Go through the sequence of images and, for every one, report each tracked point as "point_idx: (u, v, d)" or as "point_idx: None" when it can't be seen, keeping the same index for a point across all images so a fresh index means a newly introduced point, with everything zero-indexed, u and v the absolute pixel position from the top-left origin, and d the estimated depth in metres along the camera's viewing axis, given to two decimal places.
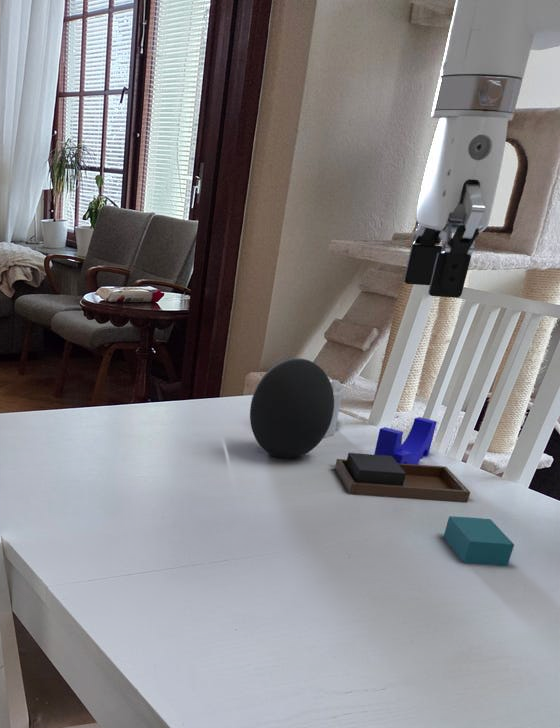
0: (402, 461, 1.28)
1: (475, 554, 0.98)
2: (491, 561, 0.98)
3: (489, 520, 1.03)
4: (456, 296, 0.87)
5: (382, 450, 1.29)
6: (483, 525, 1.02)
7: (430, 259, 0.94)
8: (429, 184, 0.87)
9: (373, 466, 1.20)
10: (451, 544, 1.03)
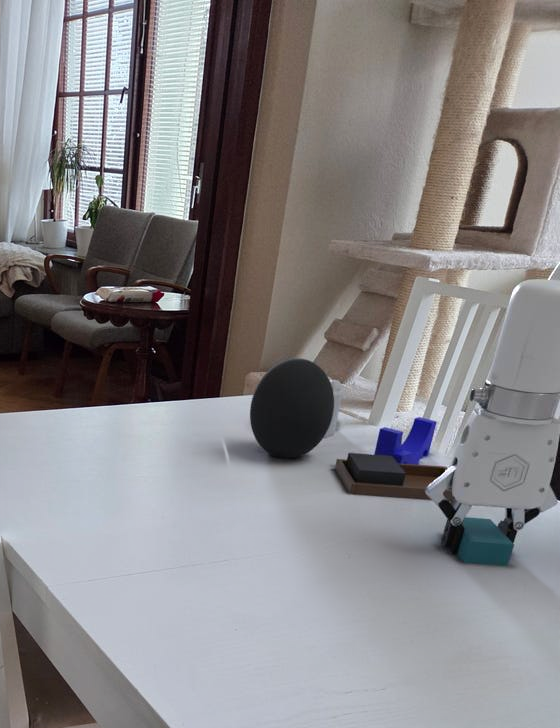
0: (402, 461, 1.28)
1: (475, 554, 0.98)
2: (491, 561, 0.98)
3: (489, 520, 1.03)
4: None
5: (382, 450, 1.29)
6: (483, 525, 1.02)
7: None
8: None
9: (373, 466, 1.20)
10: None
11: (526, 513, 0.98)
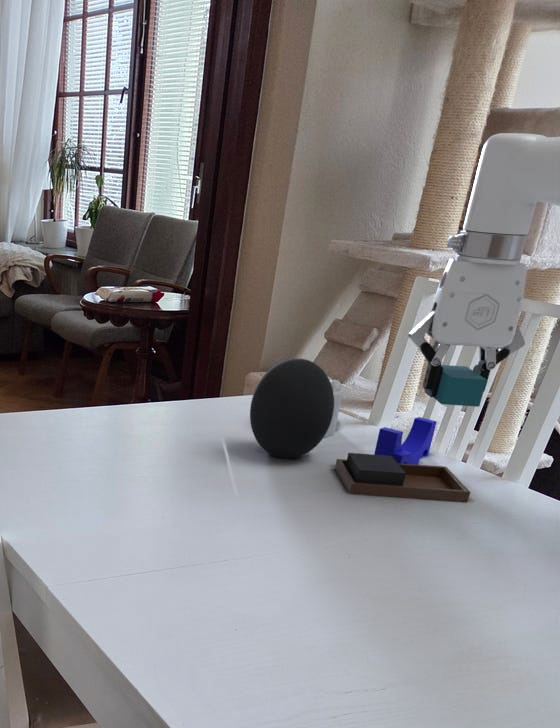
0: (402, 461, 1.28)
1: (452, 389, 1.11)
2: (466, 396, 1.11)
3: (466, 367, 1.16)
4: (430, 395, 1.14)
5: (382, 450, 1.29)
6: (460, 369, 1.15)
7: None
8: None
9: (373, 466, 1.20)
10: None
11: (497, 354, 1.11)
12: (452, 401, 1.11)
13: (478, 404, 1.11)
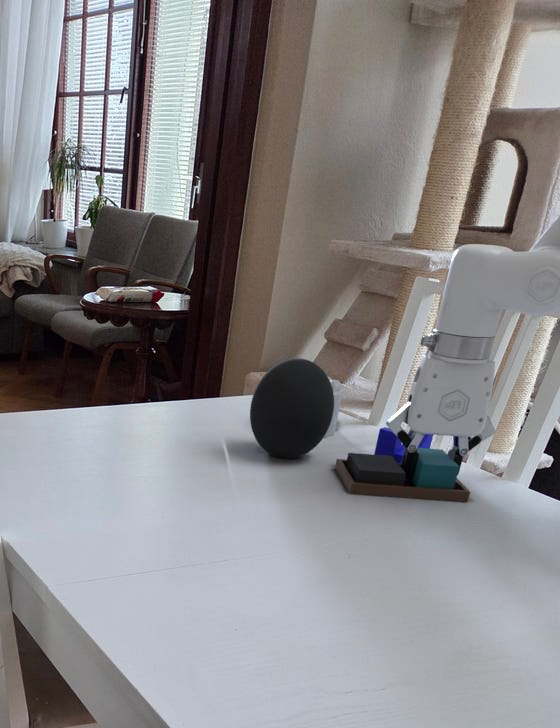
0: None
1: (427, 475, 1.18)
2: (440, 481, 1.18)
3: (441, 450, 1.24)
4: (407, 478, 1.21)
5: (382, 450, 1.29)
6: (435, 453, 1.22)
7: None
8: None
9: (373, 466, 1.20)
10: None
11: (470, 441, 1.19)
12: (427, 485, 1.19)
13: (452, 488, 1.19)
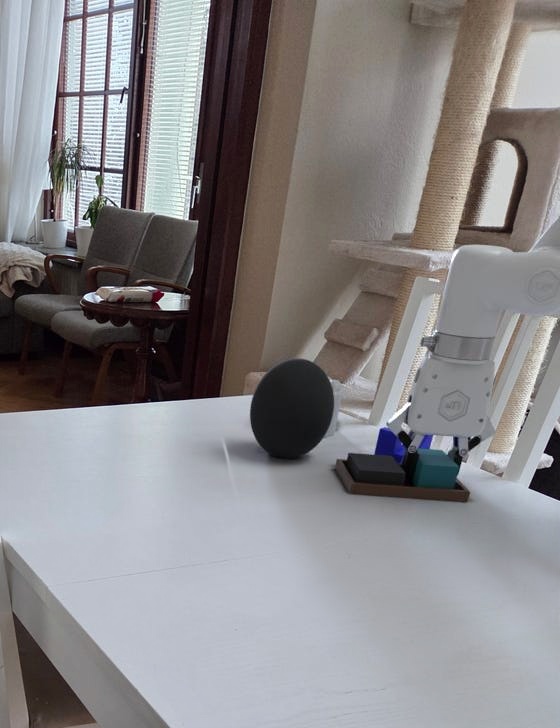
0: None
1: (427, 476, 1.18)
2: (440, 481, 1.18)
3: (441, 451, 1.24)
4: (407, 479, 1.21)
5: (382, 450, 1.29)
6: (435, 453, 1.22)
7: None
8: None
9: (373, 466, 1.20)
10: None
11: (469, 441, 1.19)
12: (427, 486, 1.19)
13: None
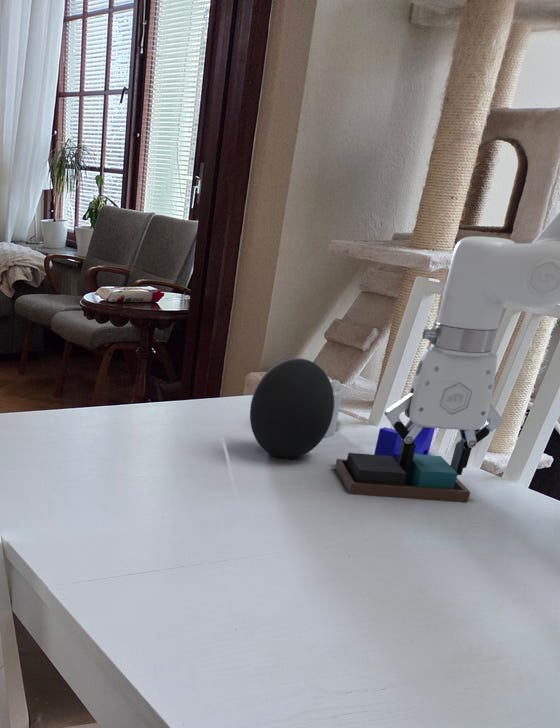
0: None
1: (425, 482, 1.19)
2: (439, 488, 1.19)
3: (439, 457, 1.24)
4: (404, 470, 1.21)
5: (382, 450, 1.29)
6: (434, 460, 1.23)
7: (458, 455, 1.20)
8: None
9: (373, 466, 1.20)
10: (407, 476, 1.23)
11: (478, 434, 1.18)
12: None
13: None
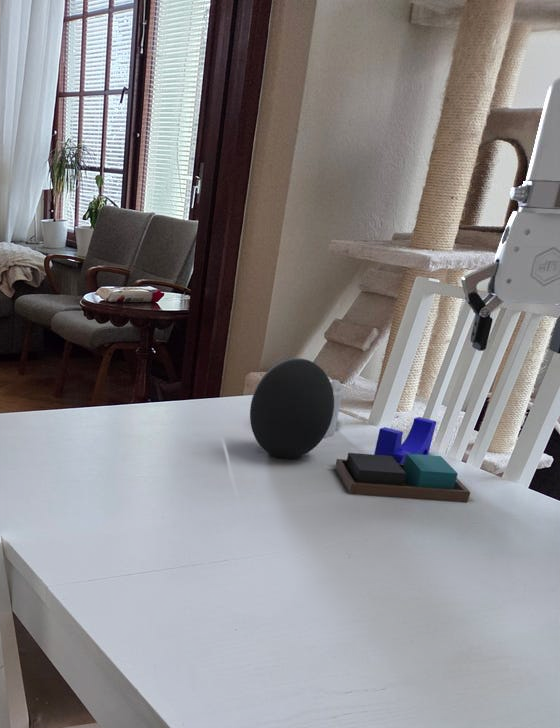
0: (402, 461, 1.28)
1: (425, 482, 1.19)
2: (439, 488, 1.19)
3: (439, 457, 1.24)
4: (478, 349, 1.08)
5: (382, 450, 1.29)
6: (434, 460, 1.23)
7: None
8: None
9: (373, 466, 1.20)
10: (407, 476, 1.23)
11: None
12: None
13: None
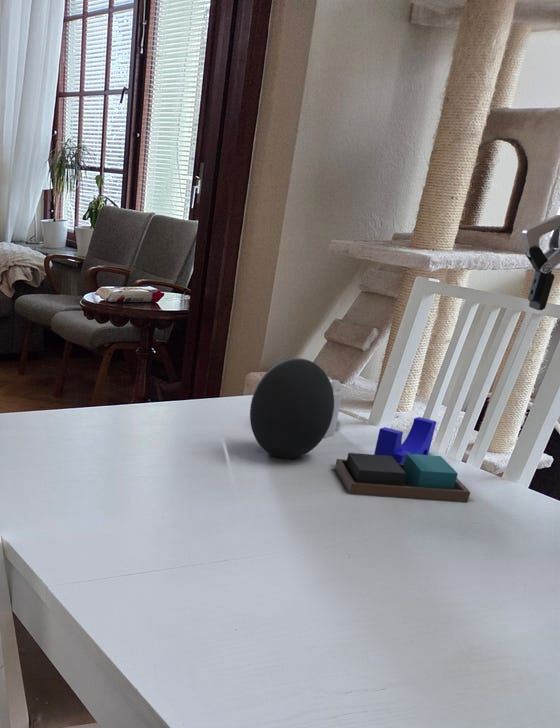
0: (402, 461, 1.28)
1: (425, 482, 1.19)
2: (439, 488, 1.19)
3: (439, 457, 1.24)
4: (537, 308, 1.01)
5: (382, 450, 1.29)
6: (434, 460, 1.23)
7: None
8: None
9: (373, 466, 1.20)
10: (407, 476, 1.23)
11: None
12: None
13: None
